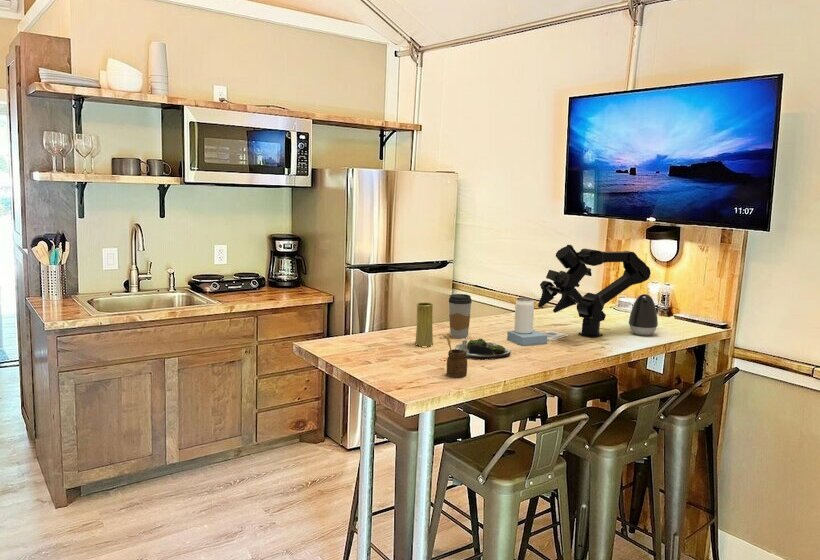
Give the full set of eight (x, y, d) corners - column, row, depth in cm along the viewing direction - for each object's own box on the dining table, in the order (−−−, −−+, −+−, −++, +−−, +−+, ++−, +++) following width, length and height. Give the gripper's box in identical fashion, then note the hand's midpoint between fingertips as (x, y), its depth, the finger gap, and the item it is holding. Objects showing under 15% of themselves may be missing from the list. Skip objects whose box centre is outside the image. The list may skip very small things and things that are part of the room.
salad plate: (442, 347, 219) (442, 334, 219) (489, 343, 226) (489, 330, 225) (466, 362, 201) (467, 348, 201) (517, 358, 208) (517, 344, 207)
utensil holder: (463, 378, 184) (464, 337, 182) (442, 376, 186) (443, 335, 184) (469, 373, 189) (470, 333, 187) (449, 370, 191) (450, 331, 190)
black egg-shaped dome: (628, 336, 238) (631, 295, 236) (627, 330, 248) (630, 291, 246) (658, 338, 236) (661, 297, 233) (655, 332, 246) (658, 292, 243)
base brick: (530, 337, 234) (531, 329, 234) (547, 343, 225) (547, 335, 225) (507, 339, 231) (507, 331, 230) (522, 346, 221) (522, 337, 221)
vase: (412, 345, 219) (413, 304, 217) (418, 341, 225) (419, 301, 223) (429, 347, 217) (430, 306, 215) (435, 343, 223) (436, 303, 221)
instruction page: (548, 330, 245) (548, 330, 245) (569, 334, 239) (569, 334, 239) (531, 336, 236) (531, 335, 236) (553, 340, 230) (553, 339, 230)
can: (517, 334, 225) (519, 300, 223) (511, 330, 232) (513, 297, 230) (535, 334, 226) (536, 300, 224) (529, 329, 233) (530, 297, 231)
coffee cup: (472, 334, 236) (473, 294, 234) (468, 340, 228) (469, 298, 226) (450, 333, 239) (451, 293, 236) (445, 338, 231) (446, 296, 228)
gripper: (545, 258, 237) (518, 290, 234) (576, 265, 220) (548, 299, 217) (562, 278, 241) (536, 309, 239) (594, 286, 224) (566, 320, 222)
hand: (546, 309), depth 229 cm, fingers open, 9 cm apart
